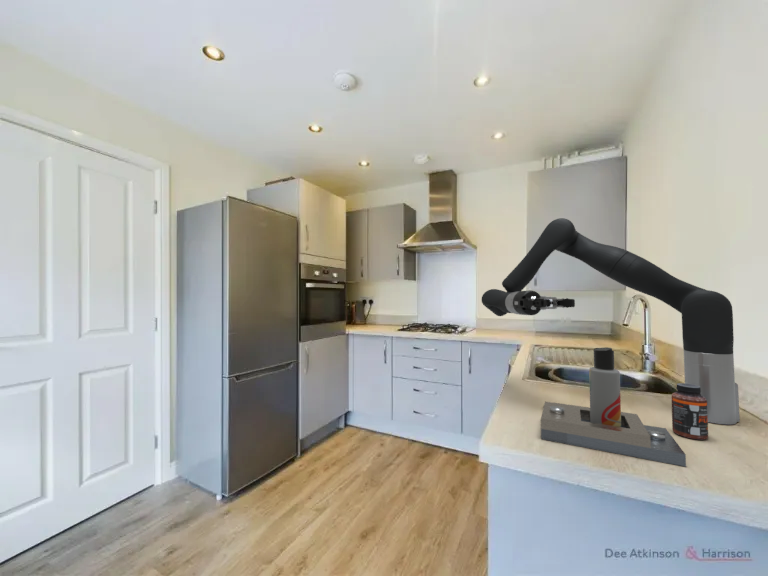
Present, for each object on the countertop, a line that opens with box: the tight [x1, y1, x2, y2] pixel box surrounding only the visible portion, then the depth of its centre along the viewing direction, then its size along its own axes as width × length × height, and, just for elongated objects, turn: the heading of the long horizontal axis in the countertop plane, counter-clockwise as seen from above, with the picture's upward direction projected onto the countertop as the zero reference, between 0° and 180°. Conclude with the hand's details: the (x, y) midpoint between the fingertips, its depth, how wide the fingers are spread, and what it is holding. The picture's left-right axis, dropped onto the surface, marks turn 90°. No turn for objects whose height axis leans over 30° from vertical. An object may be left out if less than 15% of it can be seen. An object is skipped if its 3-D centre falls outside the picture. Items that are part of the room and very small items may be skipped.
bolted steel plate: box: [540, 401, 687, 468], centre depth 71 cm, size 24×14×5 cm, turn 60°
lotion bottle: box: [588, 347, 622, 427], centre depth 72 cm, size 6×6×20 cm
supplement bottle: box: [670, 382, 709, 441], centre depth 73 cm, size 6×6×11 cm
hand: (559, 303), depth 85 cm, fingers open, 8 cm apart
